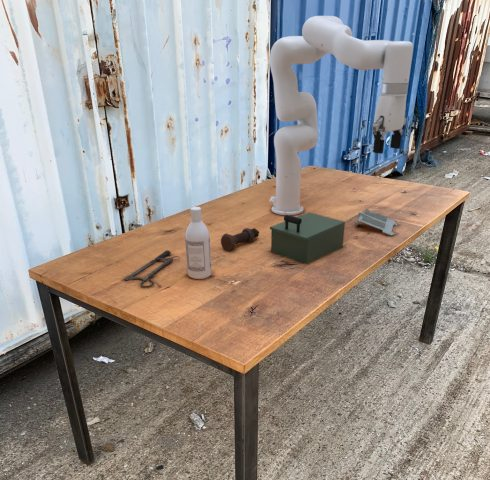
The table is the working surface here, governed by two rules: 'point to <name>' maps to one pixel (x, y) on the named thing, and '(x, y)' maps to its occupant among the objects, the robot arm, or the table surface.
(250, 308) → the table surface
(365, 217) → the metal bracket
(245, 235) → the bolt
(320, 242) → the parts chest
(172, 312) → the table surface
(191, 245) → the bath foam
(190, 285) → the table surface
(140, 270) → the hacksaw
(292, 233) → the chest lid
